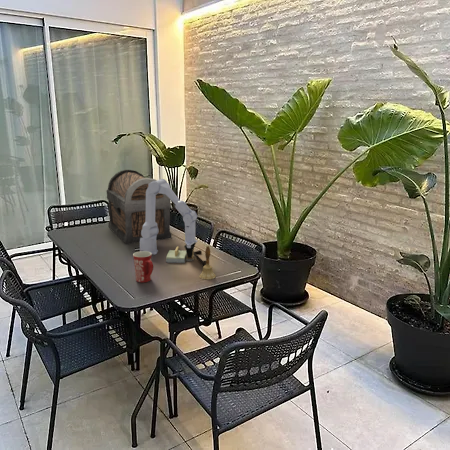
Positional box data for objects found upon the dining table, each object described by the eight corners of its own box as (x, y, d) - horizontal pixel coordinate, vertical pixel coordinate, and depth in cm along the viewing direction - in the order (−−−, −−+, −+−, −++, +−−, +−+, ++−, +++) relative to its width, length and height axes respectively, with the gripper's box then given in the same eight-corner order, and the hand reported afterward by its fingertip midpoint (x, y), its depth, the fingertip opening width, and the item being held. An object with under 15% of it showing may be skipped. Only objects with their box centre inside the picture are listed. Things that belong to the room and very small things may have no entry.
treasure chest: (107, 226, 295) (104, 170, 285) (150, 221, 310) (149, 168, 299) (125, 244, 257) (122, 180, 247) (173, 238, 272) (172, 177, 262)
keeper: (185, 261, 231) (185, 259, 231) (187, 257, 237) (187, 255, 236) (193, 261, 231) (193, 259, 231) (194, 257, 237) (194, 255, 236)
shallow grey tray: (166, 262, 228) (166, 258, 228) (169, 255, 240) (169, 251, 239) (184, 263, 228) (184, 259, 228) (187, 255, 240) (187, 252, 239)
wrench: (201, 256, 245) (214, 271, 217) (193, 257, 244) (205, 272, 216) (200, 247, 244) (213, 261, 216) (192, 248, 243) (204, 263, 215)
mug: (130, 279, 205) (129, 253, 202) (146, 274, 211) (146, 249, 207) (143, 287, 196) (142, 260, 192) (159, 282, 202) (159, 256, 198)
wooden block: (186, 260, 232) (186, 249, 230) (187, 258, 236) (187, 247, 234) (193, 260, 232) (193, 249, 230) (193, 258, 235) (193, 247, 234)
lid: (166, 258, 228) (166, 252, 227) (169, 251, 239) (169, 245, 238) (184, 259, 227) (184, 252, 226) (187, 251, 239) (187, 245, 238)
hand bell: (197, 274, 213) (197, 244, 209) (213, 272, 215) (213, 243, 211) (201, 280, 205) (201, 249, 201) (217, 279, 208) (218, 248, 203)
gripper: (196, 237, 223) (196, 260, 226) (198, 229, 237) (198, 252, 240) (182, 236, 223) (183, 260, 226) (186, 229, 237) (186, 251, 240)
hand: (190, 256), depth 233 cm, fingers closed on wooden block, 3 cm apart
